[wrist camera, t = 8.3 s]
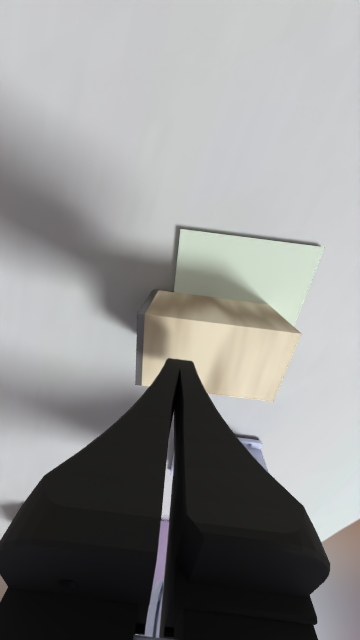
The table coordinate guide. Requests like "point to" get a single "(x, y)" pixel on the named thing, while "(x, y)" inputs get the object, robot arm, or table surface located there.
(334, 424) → the table surface
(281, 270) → the mat
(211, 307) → the maple block
